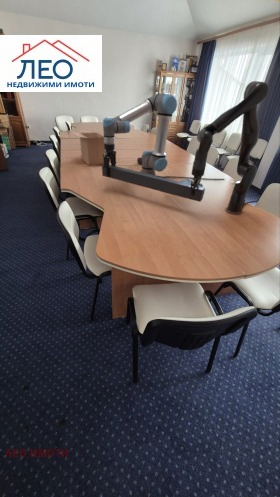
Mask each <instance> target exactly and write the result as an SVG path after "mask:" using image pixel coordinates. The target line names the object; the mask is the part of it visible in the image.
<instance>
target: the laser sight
mask: <svg viewBox="0 0 280 497" xmlns="http://www.w3.org/2000/svg"><path fill="white" fill-rule="evenodd" d="M142 158H143V154H142V155H141V157H137V159H136V162H137V164H139V165H142Z"/></svg>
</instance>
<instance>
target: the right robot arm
mask: <svg viewBox="0 0 280 497" xmlns="http://www.w3.org/2000/svg"><path fill="white" fill-rule="evenodd" d="M269 86H270V85H268V83H267V82H264V81H256V80H253V81H251V82H249V83H248V84H247V85H246V87H245V89H244V92H243V99H242V100H241V101H240V102H238V103H237V104H235V105H234V106H231V107H230V108H228V109H227V110H225V111H224V112H222V113H221V114H220V115H219V116H218V117H216V119H214V121H212V122H211V123H209V124H207V125H206V126H204V127H203V128H202V129H201V130H200V131H199V132H198V133H197V135H196V140H197V142H198V143H199V146H198V148H197V149H196V150H195V153H194V154H195V155H194V159H193V162H192V168H191V175H192V176H193V177H192V178H193V179H191V180H192V181H191V188H190V189H192V190H191V195H194V193H195V189H196V186H199V185H200V184H201V181H202V179H201V178H202V177H204V175H205V171H206V167H207V159H208V154H209V151H210V149H211V147H212V144H213V142H214V141H213V140H214V136H215V135H217V134H221V133H222V132H223V131H224V130H225V129H226V128H227V127H229V126H230V125H231V124H232V123H233V122H234V121H236V120H237V119H239V118H240V117H241V116H243V117H242V125H241V126H242V127H241V136H240V146H239V147H240V148H239V156H238V161H237V166H236V174H237V175H238V176H239V177H241V180H240V181H236V182H235V183H234V185H233V189H232V192H231V195H230V198H229V200H228V203H227V207H226V211H227V213H229V214H233V215H239V214H240V213H242V211H243V208H244V206H245V205H247V204H250V203H258V202H259V200H260V198H257V199H256V200H251V201H246V197H247V195H248V193H249V192H248V191H249V189H250V188H251V186H252V184H253V182H254V180H255V177H256V175H257V171H258V167H257V165H255V164H254V163H251V162H250V157H251V153H252V151H253V150H254V148H255V147H256V145H257V143H258V141H259V137H260V123H259V122H260V121H259V118H258V117H259V116H258V105H260V104H261V103H262V102H263V101H265V99H266V98H267V97H268V95H269V92H270V87H269ZM193 187H194V188H193Z"/></svg>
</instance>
